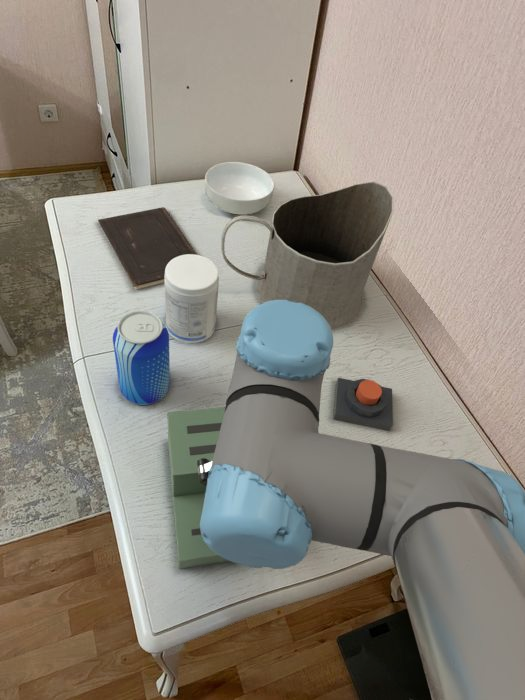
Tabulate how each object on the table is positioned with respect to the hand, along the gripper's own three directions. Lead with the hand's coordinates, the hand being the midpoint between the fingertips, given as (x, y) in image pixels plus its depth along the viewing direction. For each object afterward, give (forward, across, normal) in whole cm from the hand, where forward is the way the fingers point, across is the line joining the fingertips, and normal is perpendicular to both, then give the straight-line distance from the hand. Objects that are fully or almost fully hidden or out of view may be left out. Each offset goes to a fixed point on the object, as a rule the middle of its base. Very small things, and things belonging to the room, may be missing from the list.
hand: (240, 520), depth 68 cm
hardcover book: (+6, +8, -65) cm, 66 cm away
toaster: (+6, 0, -6) cm, 9 cm away
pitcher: (+6, -20, -49) cm, 53 cm away
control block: (+6, -26, -19) cm, 33 cm away
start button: (+2, -26, -19) cm, 32 cm away
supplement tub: (+6, +2, -41) cm, 42 cm away
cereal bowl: (+6, -14, -82) cm, 84 cm away
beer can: (+6, +11, -28) cm, 31 cm away
